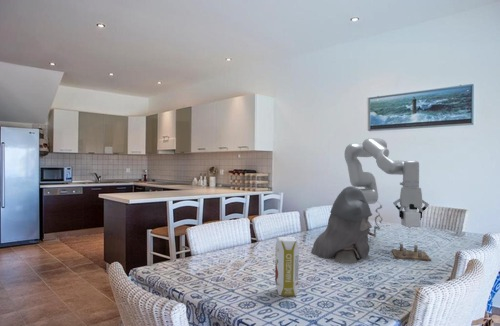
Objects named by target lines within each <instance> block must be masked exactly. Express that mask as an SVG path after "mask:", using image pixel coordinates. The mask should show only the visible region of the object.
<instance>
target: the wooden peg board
mask: <svg viewBox="0 0 500 326" xmlns="http://www.w3.org/2000/svg"><path fill="white" fill-rule="evenodd" d="M413 247H414V248H413V250H412V249H411V250H410V249H409V250H408V249H407V248H404V244H403V243H399V249H397V248H391V253H392V254H393V257H394V258H395V259H398V260H399V259H401V260H411V261H412V260H413V261H421V262H424V261H425V262H432V258H431V257H430V256H429V255H428V254H427V252H425V251H423V250H422V249H418V248H419V247H418V244H413Z"/></svg>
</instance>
